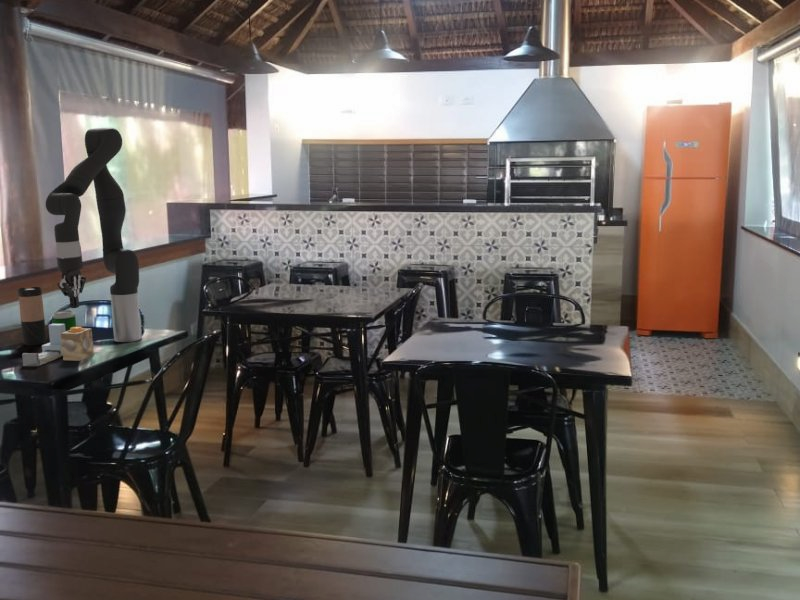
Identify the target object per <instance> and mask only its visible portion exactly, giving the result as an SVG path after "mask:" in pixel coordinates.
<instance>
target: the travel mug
mask: <svg viewBox="0 0 800 600" xmlns="http://www.w3.org/2000/svg"><path fill="white" fill-rule="evenodd" d="M17 293H18V304H19V305H18V306H19V316H20V324H21V332H22V337H23V339H22V340H23V344H24V345H25V346H39V345H45V344H47V343H46V342H47V337H46V336H47V335H46V334H47V333H46V321H45V319H46V318H45V311H44V301H43V293H42V287H40V286H31V287H30V288H25V287H20V288H18V289H17Z"/></svg>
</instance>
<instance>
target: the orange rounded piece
mask: <svg viewBox="0 0 800 600" xmlns="http://www.w3.org/2000/svg"><path fill="white" fill-rule="evenodd" d="M82 328H83V326H76V327H72V328H70V332H78V333H79V332H81V331H82Z"/></svg>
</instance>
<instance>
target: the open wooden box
mask: <svg viewBox="0 0 800 600" xmlns="http://www.w3.org/2000/svg"><path fill="white" fill-rule="evenodd" d="M93 340H94V339H93V330H92V328H89V327H88V328H86V327H85V328H84V327H82V331H81V332H79V333H78V332H70V330H69V331H66V332H63V333H61V341H62V352H63V356H62V360H63V361H76V362H77V361H78V362H81V361H83V360H85V359H87V357H88V358H90V357H92V356H94V355H95V353H94V352H95V350H94V341H93ZM89 356H90V357H89Z"/></svg>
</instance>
